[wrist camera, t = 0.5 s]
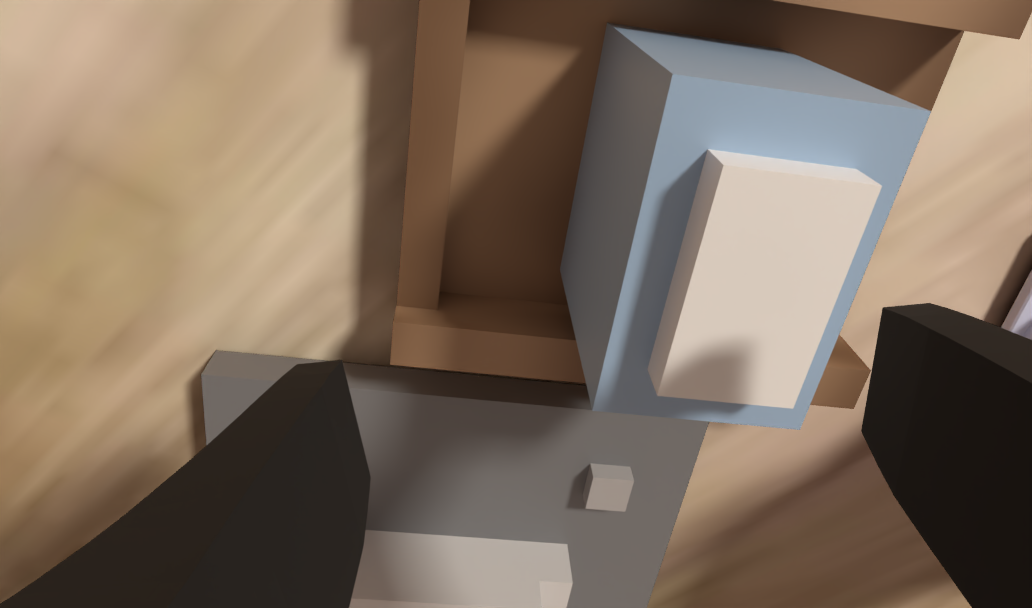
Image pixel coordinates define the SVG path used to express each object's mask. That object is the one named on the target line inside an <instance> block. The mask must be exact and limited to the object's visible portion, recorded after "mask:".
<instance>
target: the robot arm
mask: <svg viewBox="0 0 1032 608" xmlns="http://www.w3.org/2000/svg"><path fill="white" fill-rule="evenodd" d="M861 431H862V434H863V436H864V438H865V440H866V442H867V444H868V446H869V448H870V450H871V452H872V454H873V456H874V458H875V460H876V462H877V465H878V467H879V468H880V470H881V472H882V474H883V476H884V478H885V480H886V482H887V483H888V485H889V487H890V489H891V491H892V493H893V495H894V496H895V498H896V499H897V501H898V502H899V504H900V505H901V507H902V508H903V510H904V511H905V513H906V514H907V516H908V517H909V519H910V520H911V521H912V523H913V524H914V526H915V527H916V529H917V530H918V532H919V533H920V534H921V536H922V537H923V539H924V540H925V542H926V543H927V545H928V546H929V547H930V549H931V550H932V552H933V553H934V555H935V556H936V557H937V559H938V560H939V562H940V563H941V564H942V566H943V567H944V569H945V570H946V572H947V573H948V574H949V576H950V577H951V579H952V580H953V581H954V583H955V584H956V586H957V587H958V589H959V590H960V591H961V593H962V594H963V596H964V597H965V598H966V600H967V601H968V603H969V604H970V606H971V607H972V608H1032V270H1031V272H1030V274H1029V276H1028V278H1027V279H1026V281H1025V283H1024V285H1023V287H1022V289H1021V291H1020V293H1019V295H1018V296H1017V298H1016V300H1015V302H1014V304H1013V306H1012V308H1011V310H1010V311H1009V313H1008V315H1007V317H1006V319H1005V321H1004V323H1003V325H1002V326H1001V328H1000V327H998V326H995V325H993V324H990V323H987V322H985V321H982V320H979V319H977V318H974V317H971V316H969V315H966V314H963V313H960V312H957V311H954V310H951V309H948V308H945V307H941V306H938V305H934V304H931V303H926V304H915V305H905V306H895V307H884V308H883V309H882V315H881V321H880V327H879V332H878V338H877V344H876V350H875V355H874V361H873V367H872V373H871V378H870V384H869V390H868V396H867V401H866V407H865V413H864V419H863V424H862V430H861ZM370 481H371V476H370V472H369V468H368V464H367V460H366V456H365V452H364V448H363V443H362V439H361V435H360V431H359V427H358V423H357V419H356V415H355V411H354V407H353V403H352V399H351V394H350V390H349V386H348V382H347V378H346V374H345V370H344V366H343V362H342V360H335V361H325V362H315V363H304V364H297V365H295V366H294V367H293V368H292V369H290V370H289V371H288V372H287V373H285V374H284V375H283V376H282V377H281V378H280V379H279V380H277V381H276V382H275V383H274V384H273V385H272V386H271V387H270V388H269V389H268V390H267V391H265V392H264V393H263V394H262V395H261V396H260V397H259V398H258V399H257V400H256V401H255V402H254V403H252V404H251V405H250V406H249V407H248V408H247V409H246V410H245V411H244V412H243V413H242V414H241V415H240V416H239V417H237V418H236V419H235V420H234V421H233V422H232V423H231V424H230V425H229V426H228V427H226V428H225V429H224V430H223V431H222V432H221V433H220V434H219V435H218V436H217V437H215V438H214V439H213V440H212V441H211V442H210V443H209V444H208V445H207V446H206V447H204V448H203V449H202V450H201V451H200V452H199V453H198V454H197V455H196V456H194V457H193V458H192V459H191V460H190V461H189V462H187V463H186V464H185V465H184V466H183V467H181V468H180V469H179V470H178V471H177V472H176V473H174V474H173V475H172V476H171V477H170V478H168V479H167V480H166V481H165V482H164V483H162V484H161V485H160V486H159V487H158V488H156V489H155V490H154V491H153V492H152V493H150V494H149V495H148V496H147V497H146V498H144V499H143V500H142V501H141V502H140V503H138V504H137V505H136V506H135V507H134V508H132V509H131V510H130V511H129V512H128V513H126V514H125V515H124V516H123V517H121V518H120V519H119V520H118V521H116V522H115V523H114V524H112V525H111V526H110V527H109V528H107V529H106V530H105V531H103V532H102V533H101V534H99V535H98V536H97V537H95V538H94V539H93V540H91V541H90V542H89V543H87V544H86V545H85V546H83V547H82V548H81V549H79V550H78V551H76V552H75V553H74V554H72V555H71V556H69V557H68V558H67V559H65V560H64V561H62V562H61V563H59V564H58V565H57V566H55V567H54V568H52V569H51V570H50V571H48V572H47V573H45V574H44V575H43V576H41V577H40V578H38V579H37V580H36V581H34V582H33V583H31V584H30V585H28V586H27V587H25V588H24V589H22V590H21V591H19V592H18V593H16V594H15V595H13V596H12V597H10V598H9V599H7V600H6V601H4V602H2V603H1V604H0V608H349V606H350V602H351V598H352V594H353V589H354V585H355V581H356V577H357V572H358V568H359V564H360V559H361V555H362V551H363V546H364V539H365V530H366V522H367V513H368V502H369V492H370Z"/></svg>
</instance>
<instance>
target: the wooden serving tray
mask: <svg viewBox="0 0 1032 608" xmlns="http://www.w3.org/2000/svg"><path fill="white" fill-rule="evenodd" d="M1031 12H1032V0H419V11H418V25H417V38H416V52H415V65H414V79H413V92H412V105H411V119H410V132H409V146H408V159H407V172H406V186H405V199H404V213H403V226H402V240H401V253H400V266H399V280H398V293H397V306H396V311H395V315H394V320H393V329H392V343H391V357H390V365H399V366H410V367H420V368H431V369H441V370H452V371H462V372H472V373H483V374H493V375H504V376H514V377H525V378H535V379H546V380H556V381H567V382H577V383H586V381H585V377H584V372H583V368H582V364H581V359H580V355H579V351H578V346H577V342H576V337H575V333H574V329H573V324H572V320H571V316H570V311H569V307H568V303H567V298H566V294H565V290H564V285H563V281H562V277H561V272H560V267H561V261H562V256H563V251H564V246H565V240H566V235H567V230H568V225H569V219H570V214H571V209H572V204H573V199H574V193H575V188H576V183H577V178H578V172H579V167H580V162H581V157H582V151H583V146H584V141H585V136H586V130H587V125H588V120H589V115H590V109H591V104H592V99H593V94H594V88H595V83H596V78H597V73H598V68H599V62H600V57H601V52H602V47H603V41H604V36H605V31H606V26H607V22H608V23H614V24H621V25H628V26H634V27H641V28H648V29H654V30H661V31H667V32H674V33H681V34H687V35H694V36H701V37H707V38H714V39H720V40H727V41H734V42H740V43H747V44H754V45H760V46H767V47H773V48H780V49H783V50H786V51H788V52H790V53H793V54H795V55H798V56H800V57H802V58H805V59H807V60H810V61H812V62H814V63H817V64H819V65H822V66H824V67H826V68H829V69H831V70H833V71H836V72H838V73H841V74H843V75H845V76H848V77H850V78H853V79H855V80H857V81H860V82H862V83H865V84H867V85H869V86H872V87H874V88H877V89H879V90H881V91H884V92H886V93H888V94H891V95H893V96H896V97H898V98H900V99H903V100H905V101H908V102H910V103H912V104H915V105H917V106H920V107H922V108H924V109H927V110H929V111H931V110H932V108H933V106H934V103H935V101H936V98H937V96H938V93H939V91H940V89H941V86H942V84H943V81H944V79H945V77H946V74H947V72H948V69H949V67H950V64H951V62H952V60H953V57H954V55H955V52H956V50H957V47H958V45H959V43H960V40H961V38H962V35H963V33H964V31H969V32H976V33H982V34H988V35H995V36H1001V37H1007V38H1014V39H1020V37H1021V35H1022V33H1023V30H1024V28H1025V26H1026V24H1027V21H1028V19H1029V17H1030V15H1031ZM926 123H927V122H926ZM919 140H920V139H919ZM914 152H915V151H914ZM912 157H913V156H912ZM907 169H908V168H907ZM905 174H906V173H905ZM900 186H901V185H900ZM898 191H899V190H898ZM893 203H894V202H893ZM886 220H887V219H886ZM879 237H880V236H879ZM872 254H873V253H872ZM867 266H868V265H867ZM865 271H866V270H865ZM860 283H861V282H860ZM858 288H859V287H858ZM853 300H854V299H853ZM846 317H847V316H846ZM839 334H840V333H839ZM870 371H871V370H870V369H869V368H868V367H867V366H866V365H865V363H864V362H863V361H862V360H861V359H860V358H859V356H858V355H857V354H856V353H855V352H854V351H853V350H852V348H851V347H850V346H849V345H848V344H847V343H846V342H845V340H844V339H843V338H842V337H841V336H840V335H839V336H838V338H837V341H836V343H835V346H834V348H833V350H832V353H831V355H830V358H829V360H828V363H827V365H826V367H825V370H824V372H823V375H822V377H821V379H820V382H819V384H818V387H817V389H816V392H815V394H814V396H813V399H812V401H811V404H810V405H818V406H829V407H839V408H849V409H854V407H855V405H856V403H857V400H858V398H859V396H860V394H861V391H862V389H863V387H864V385H865V382H866V380H867V378H868V376H869V374H870Z"/></svg>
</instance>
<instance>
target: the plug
mask: <svg viewBox="0 0 1032 608" xmlns="http://www.w3.org/2000/svg"><path fill="white" fill-rule="evenodd" d="M930 113H931V111H929V110H927V109H924V108H922V107H920V106H917V105H915V104H912V103H910V102H908V101H905V100H903V99H900V98H898V97H896V96H893V95H891V94H888V93H886V92H884V91H881V90H879V89H877V88H874V87H872V86H869V85H867V84H865V83H862V82H860V81H857V80H855V79H853V78H850V77H848V76H845V75H843V74H841V73H838V72H836V71H833V70H831V69H829V68H826V67H824V66H822V65H819V64H817V63H814V62H812V61H810V60H807V59H805V58H802V57H800V56H798V55H795V54H793V53H790V52H788V51H786V50H783V49H780V48H773V47H767V46H760V45H754V44H747V43H740V42H734V41H727V40H720V39H714V38H707V37H701V36H694V35H687V34H681V33H674V32H667V31H661V30H654V29H648V28H641V27H634V26H628V25H621V24H614V23H608V22H607V26H606V31H605V36H604V41H603V47H602V52H601V57H600V62H599V68H598V73H597V78H596V83H595V88H594V94H593V99H592V104H591V109H590V115H589V120H588V125H587V130H586V136H585V141H584V146H583V151H582V157H581V162H580V167H579V172H578V178H577V183H576V188H575V193H574V199H573V204H572V209H571V214H570V219H569V225H568V230H567V235H566V240H565V246H564V251H563V256H562V261H561V267H560V272H561V277H562V281H563V285H564V290H565V294H566V298H567V303H568V307H569V311H570V316H571V320H572V324H573V329H574V333H575V337H576V342H577V346H578V351H579V355H580V359H581V364H582V368H583V372H584V377H585V381H586V385H587V390H588V394H589V398H590V403H591V407H592V411H600V412H611V413H621V414H632V415H643V416H654V417H665V418H676V419H687V420H698V421H709V422H720V423H731V424H742V425H753V426H764V427H775V428H786V429H797V430H800V428H801V426H802V423H803V421H804V418H805V416H806V413H807V411H808V409H809V406H810V404H811V401H812V399H813V396H814V394H815V392H816V389H817V387H818V384H819V382H820V379H821V377H822V375H823V372H824V370H825V367H826V365H827V363H828V360H829V358H830V355H831V353H832V350H833V348H834V346H835V343H836V341H837V338H838V336H839V333H840V331H841V329H842V326H843V324H844V321H845V319H846V316H847V314H848V312H849V309H850V307H851V304H852V302H853V299H854V297H855V295H856V292H857V290H858V287H859V285H860V282H861V280H862V278H863V275H864V273H865V270H866V268H867V265H868V263H869V261H870V258H871V256H872V253H873V251H874V249H875V246H876V244H877V241H878V239H879V236H880V234H881V232H882V229H883V227H884V224H885V222H886V219H887V217H888V215H889V212H890V210H891V207H892V205H893V202H894V200H895V198H896V195H897V193H898V190H899V188H900V185H901V183H902V181H903V178H904V176H905V173H906V171H907V168H908V166H909V164H910V161H911V159H912V156H913V154H914V151H915V149H916V147H917V144H918V142H919V139H920V137H921V135H922V132H923V130H924V127H925V125H926V122H927V120H928V118H929V115H930Z"/></svg>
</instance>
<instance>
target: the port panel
mask: <svg viewBox="0 0 1032 608" xmlns="http://www.w3.org/2000/svg"><path fill="white" fill-rule="evenodd" d="M315 362H325V361H323V360H312V359H302V358H291V357H281V356H270V355H260V354H249V353H239V352H228V351H218V350H216V351H215V353H214V354H213V356H212V358H211V359H210V361H209V363H208V364H207V366H206V367H205V369H204V371H203V372H202V374H201V379H202V392H203V406H204V419H205V432H206V446H207V445H208V444H209V443H210V442H211V441H212V440H213V439H214V438H215V437H217V436H218V435H219V434H220V433H221V432H222V431H223V430H224V429H225V428H226V427H228V426H229V425H230V424H231V423H232V422H233V421H234V420H235V419H236V418H237V417H239V416H240V415H241V414H242V413H243V412H244V411H245V410H246V409H247V408H248V407H249V406H250V405H251V404H252V403H254V402H255V401H256V400H257V399H258V398H259V397H260V396H261V395H262V394H263V393H264V392H265V391H267V390H268V389H269V388H270V387H271V386H272V385H273V384H274V383H275V382H276V381H277V380H279V379H280V378H281V377H282V376H283V375H284V374H285V373H287V372H288V371H289V370H290V369H292V368H293V367H294V366H295V365H297V364H304V363H315ZM343 366H344V370H345V374H346V378H347V382H348V386H349V390H350V394H351V399H352V403H353V407H354V411H355V415H356V419H357V423H358V427H359V431H360V435H361V439H362V443H363V448H364V452H365V456H366V460H367V464H368V468H369V472H370V476H371V481H370V492H369V502H368V513H367V522H366V530H365V539H364V546H363V551H362V555H361V559H360V564H359V568H358V572H357V577H356V581H355V585H354V589H353V594H352V598H351V602H350V606H349V608H647V605H648V602H649V599H650V596H651V593H652V590H653V587H654V584H655V581H656V578H657V575H658V572H659V570H660V567H661V564H662V561H663V558H664V555H665V552H666V549H667V546H668V543H669V540H670V537H671V534H672V531H673V528H674V525H675V522H676V519H677V516H678V513H679V510H680V507H681V504H682V501H683V498H684V495H685V492H686V489H687V486H688V483H689V480H690V477H691V474H692V471H693V468H694V465H695V462H696V459H697V456H698V453H699V450H700V447H701V444H702V441H703V439H704V436H705V433H706V430H707V427H708V424H709V421H698V420H687V419H676V418H665V417H654V416H643V415H632V414H621V413H611V412H600V411H592V407H591V403H590V398H589V394H588V390H587V386H586V385H575V384H565V383H554V382H544V381H533V380H523V379H512V378H502V377H491V376H481V375H470V374H459V373H449V372H438V371H428V370H417V369H407V368H396V367H386V366H375V365H365V364H354V363H344V362H343Z"/></svg>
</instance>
